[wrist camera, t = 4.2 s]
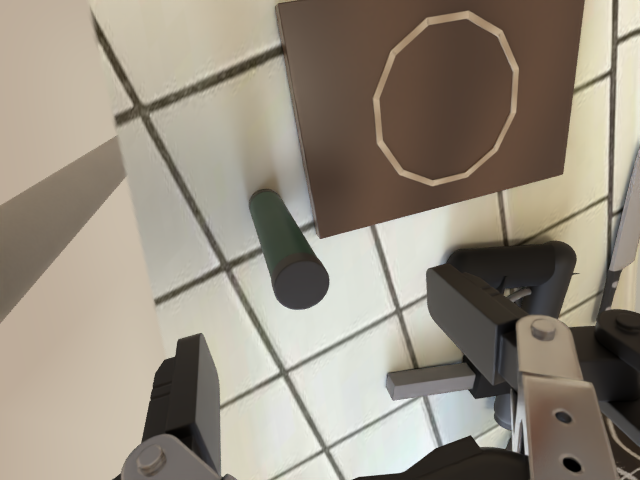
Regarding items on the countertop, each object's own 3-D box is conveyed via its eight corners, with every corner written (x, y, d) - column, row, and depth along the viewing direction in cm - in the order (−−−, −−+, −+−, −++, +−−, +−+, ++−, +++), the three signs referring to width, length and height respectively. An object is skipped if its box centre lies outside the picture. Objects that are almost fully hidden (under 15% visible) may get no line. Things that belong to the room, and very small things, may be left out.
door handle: (389, 455, 35) (538, 428, 38) (417, 260, 27) (601, 247, 30) (377, 425, 38) (516, 403, 41) (398, 242, 30) (568, 232, 33)
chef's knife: (664, 133, 32) (638, 138, 31) (679, 135, 31) (654, 140, 30) (612, 318, 40) (591, 326, 39) (623, 324, 39) (602, 332, 38)
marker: (252, 224, 25) (280, 317, 15) (244, 192, 24) (268, 269, 14) (285, 216, 25) (333, 301, 16) (278, 184, 24) (325, 253, 15)
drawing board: (316, 234, 27) (320, 240, 26) (274, 6, 21) (277, 3, 20) (553, 171, 30) (564, 174, 29) (576, -39, 24) (591, -44, 23)
